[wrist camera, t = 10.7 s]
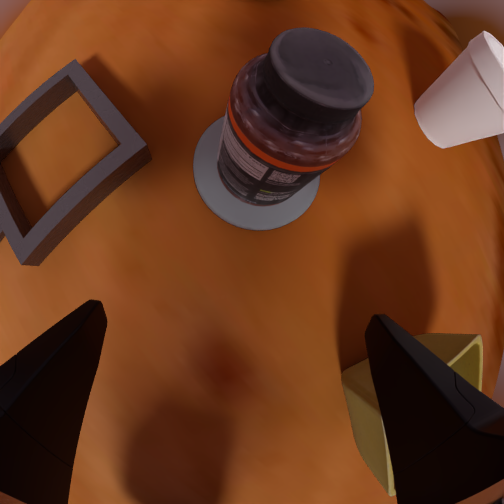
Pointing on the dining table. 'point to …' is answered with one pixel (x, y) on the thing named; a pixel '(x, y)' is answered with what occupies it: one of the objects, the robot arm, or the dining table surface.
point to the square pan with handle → (88, 187)
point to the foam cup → (466, 96)
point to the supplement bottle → (291, 115)
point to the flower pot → (367, 408)
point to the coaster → (230, 206)
